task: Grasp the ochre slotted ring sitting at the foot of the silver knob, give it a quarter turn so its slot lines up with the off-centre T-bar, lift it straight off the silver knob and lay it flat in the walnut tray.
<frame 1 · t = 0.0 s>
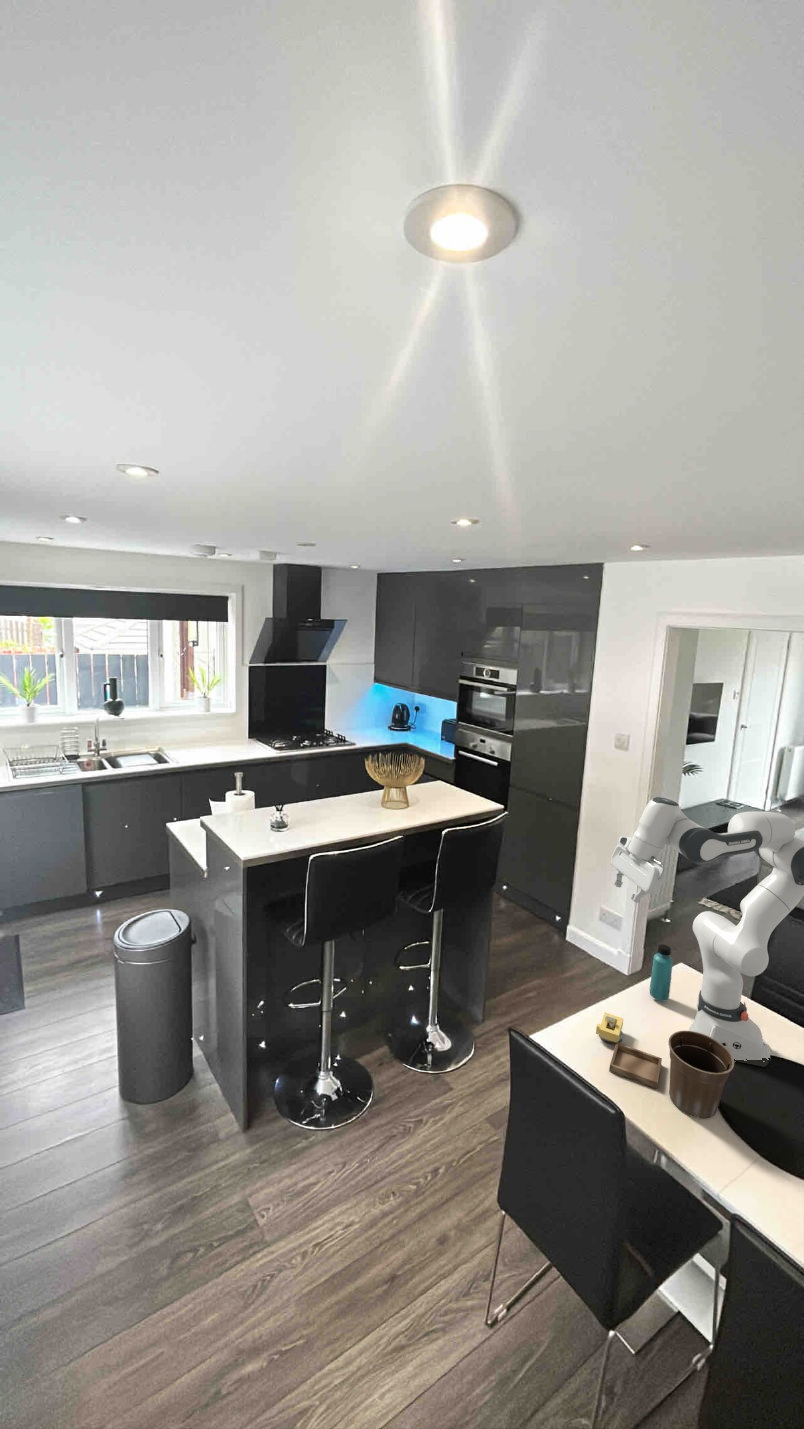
hand: (625, 893, 180), 52 cm above the table, tool tilted 20°, fingers open, 8 cm apart
silver knob: (610, 1036, 196), on the table
tray: (635, 1068, 183), on the table
plant pot: (693, 1102, 171), on the table
beverage bottle: (658, 999, 216), on the table
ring: (610, 1031, 196), point 2 cm above the table, touching silver knob
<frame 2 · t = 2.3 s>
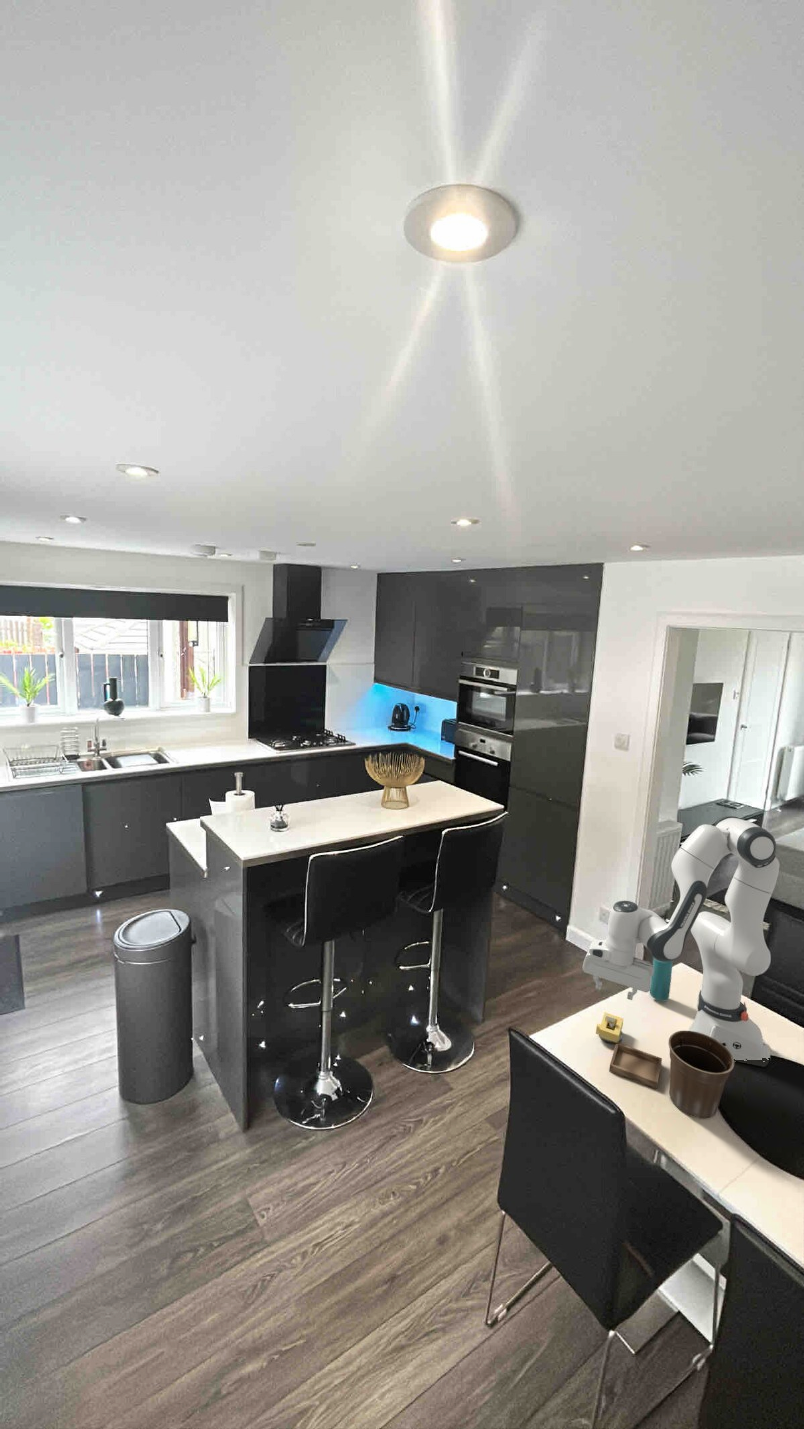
hand: (614, 993, 193), 15 cm above the table, tool pointing down, fingers open, 8 cm apart
nothing on the table moved.
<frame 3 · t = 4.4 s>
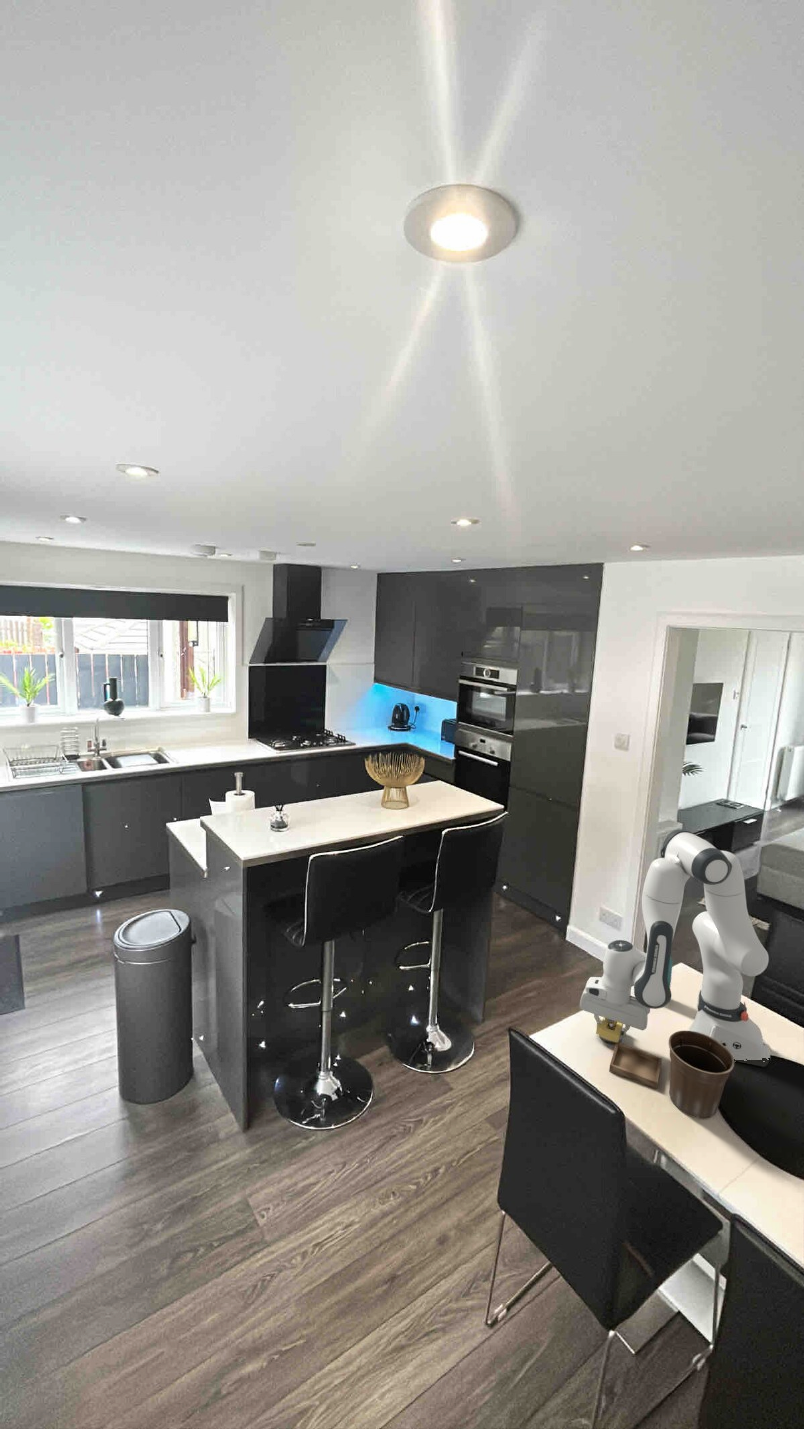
hand: (611, 1030, 196), 2 cm above the table, tool pointing down, fingers closed on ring, 6 cm apart
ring: (611, 1031, 196), point 2 cm above the table, touching gripper, silver knob
everything else where it was.
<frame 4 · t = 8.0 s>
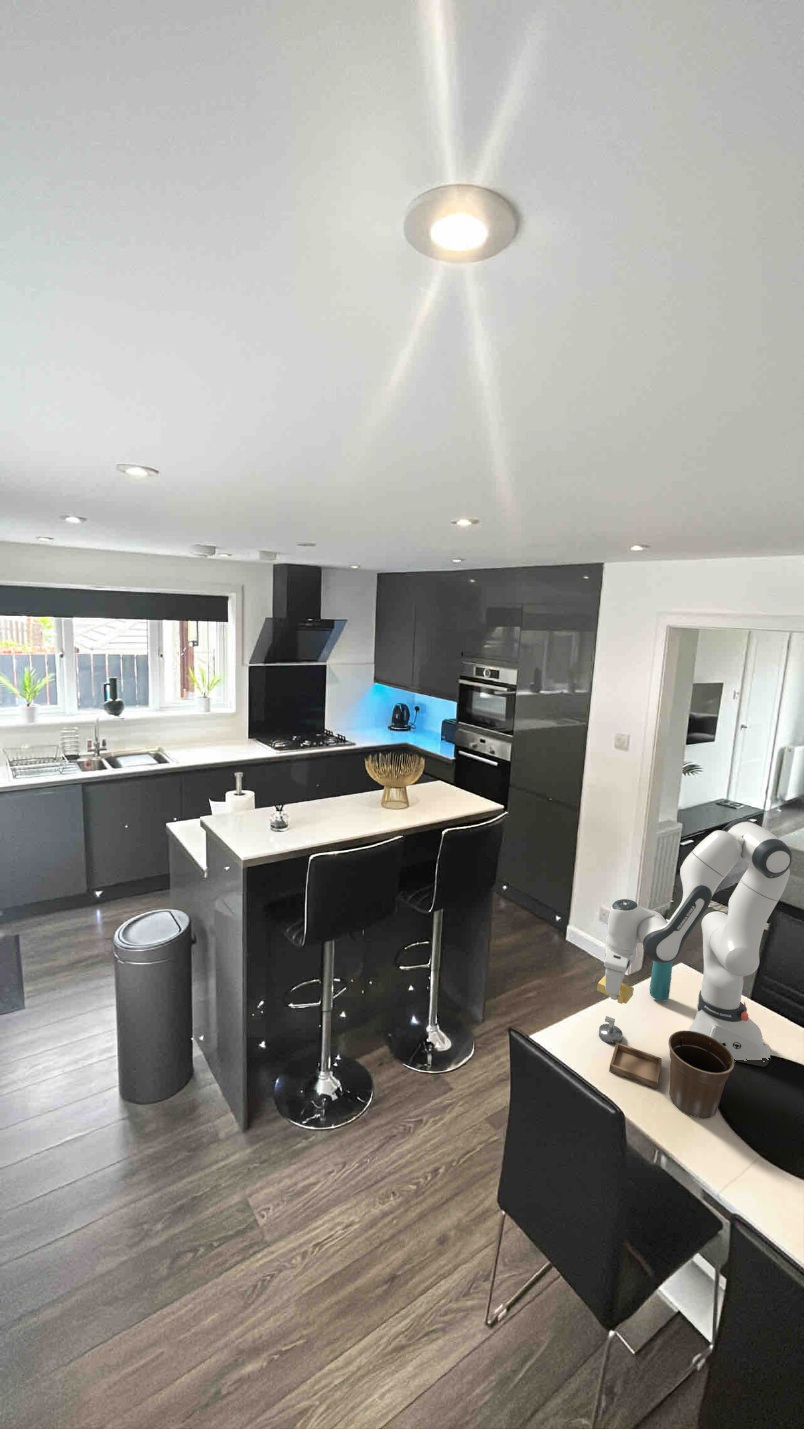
hand: (615, 991, 193), 16 cm above the table, tool pointing down, fingers closed on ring, 6 cm apart
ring: (614, 992, 193), point 15 cm above the table, touching gripper
everything else where it was.
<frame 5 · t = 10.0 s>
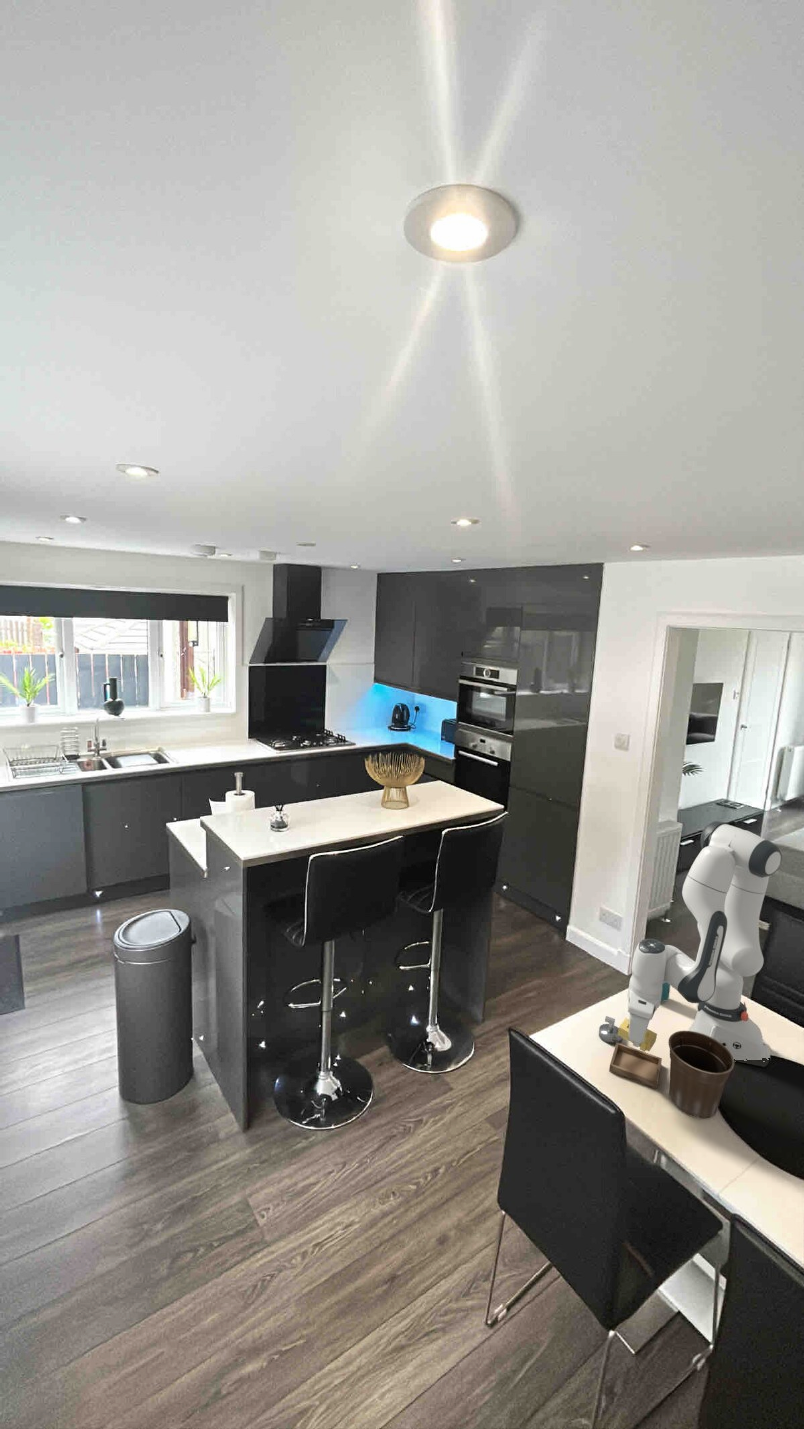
hand: (637, 1037, 181), 10 cm above the table, tool pointing down, fingers closed on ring, 6 cm apart
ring: (636, 1038, 181), point 10 cm above the table, touching gripper
everything else where it was.
when the fingers open (3 cm above the table, at t = 11.7 s): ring drops 2 cm, resting on tray.
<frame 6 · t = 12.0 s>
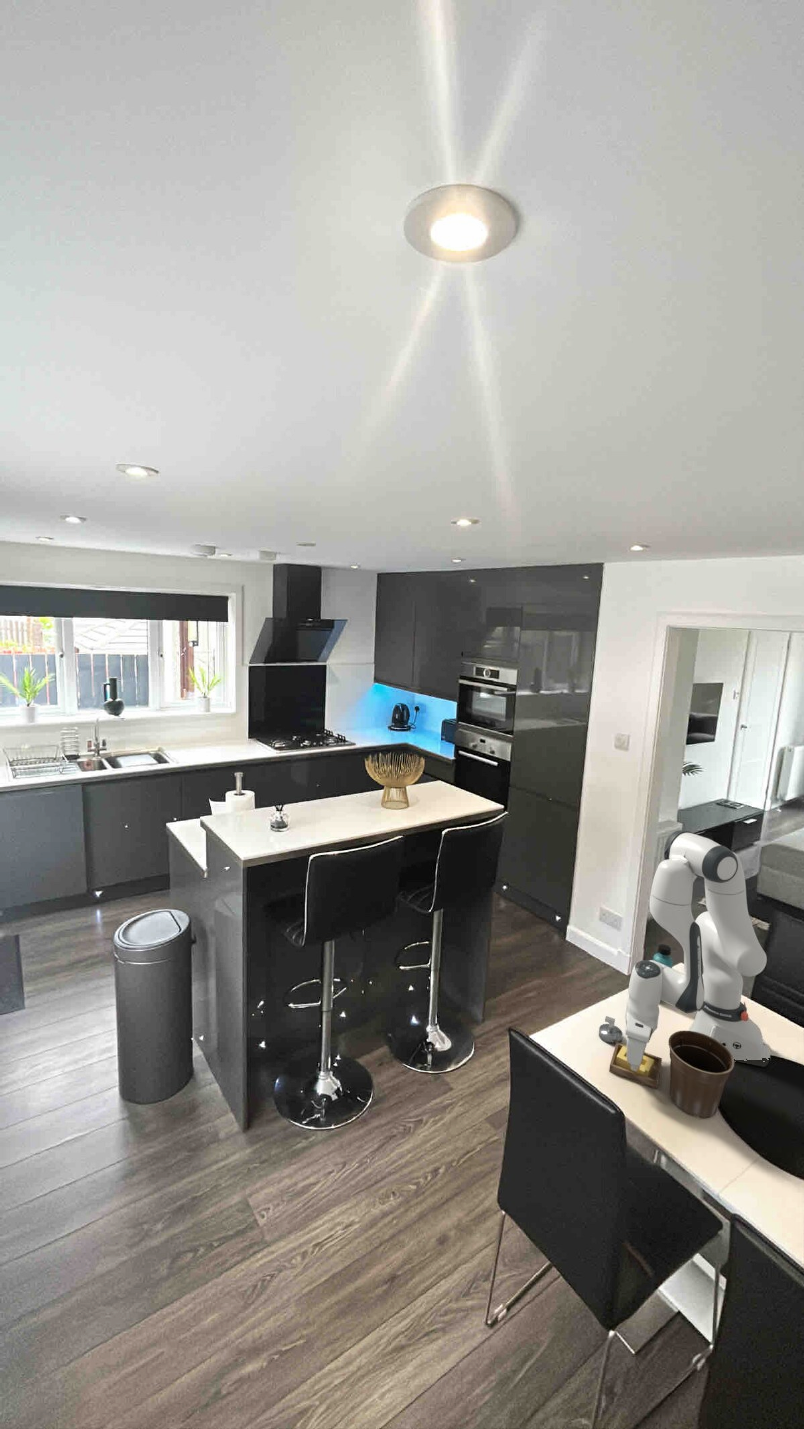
hand: (636, 1058, 183), 3 cm above the table, tool pointing down, fingers open, 8 cm apart
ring: (634, 1065, 183), resting on tray
everything else where it was.
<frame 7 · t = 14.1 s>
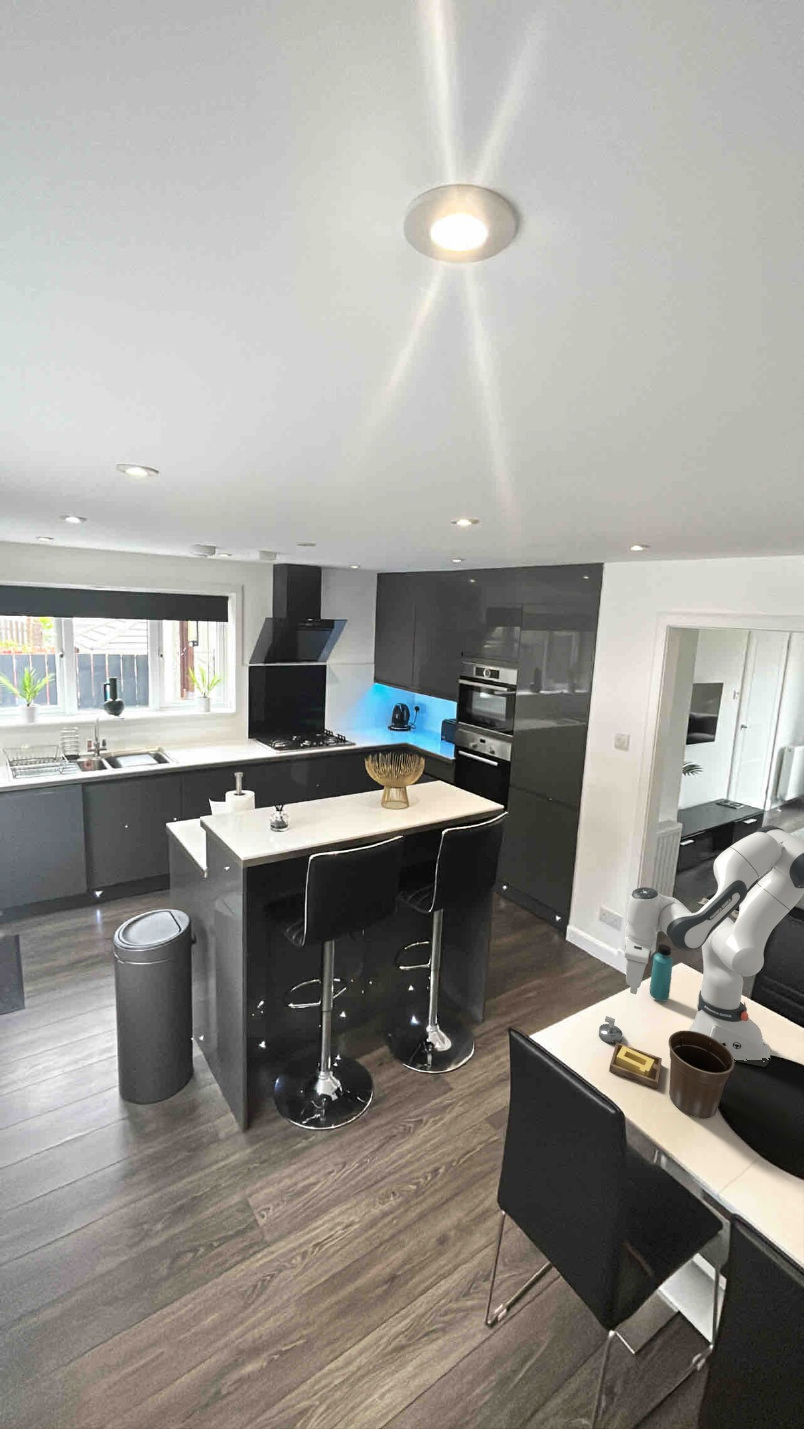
hand: (635, 983, 186), 23 cm above the table, tool pointing down, fingers open, 8 cm apart
nothing on the table moved.
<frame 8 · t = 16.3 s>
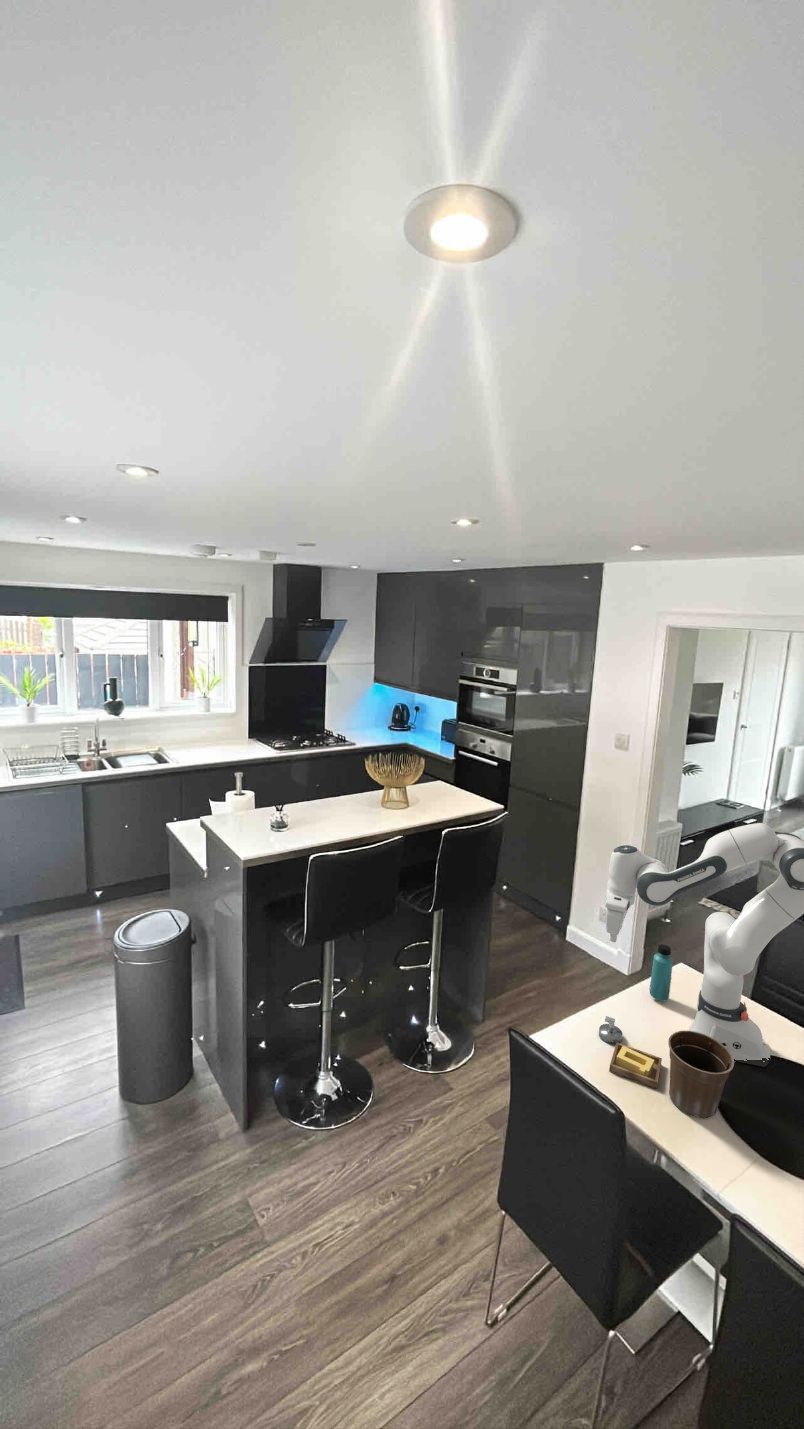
hand: (616, 934, 201), 29 cm above the table, tool pointing down, fingers open, 8 cm apart
nothing on the table moved.
at the end: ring inside the target area on the tray (0.3 cm from its centre), point 0.5 cm above the tray's base; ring tilted 0°; the gripper is holding nothing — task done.
